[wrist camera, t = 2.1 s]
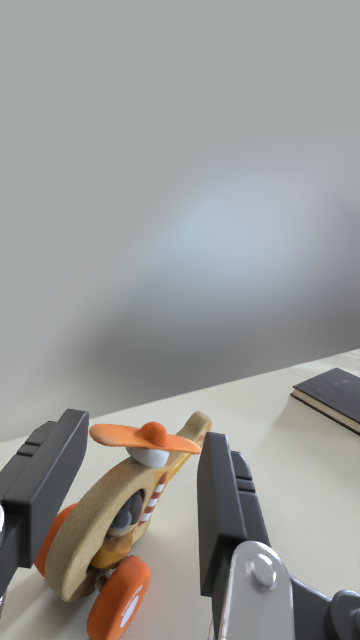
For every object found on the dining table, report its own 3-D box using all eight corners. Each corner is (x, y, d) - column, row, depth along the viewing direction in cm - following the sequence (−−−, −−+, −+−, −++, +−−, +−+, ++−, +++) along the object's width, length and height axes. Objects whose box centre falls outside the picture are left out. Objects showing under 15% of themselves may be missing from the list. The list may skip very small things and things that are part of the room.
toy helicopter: (16, 590, 20) (13, 446, 16) (170, 442, 37) (187, 355, 33) (86, 696, 16) (105, 538, 12) (222, 476, 33) (248, 381, 29)
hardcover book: (290, 395, 56) (293, 385, 55) (333, 374, 70) (336, 367, 70) (376, 445, 44) (381, 434, 44) (406, 408, 59) (410, 400, 58)
